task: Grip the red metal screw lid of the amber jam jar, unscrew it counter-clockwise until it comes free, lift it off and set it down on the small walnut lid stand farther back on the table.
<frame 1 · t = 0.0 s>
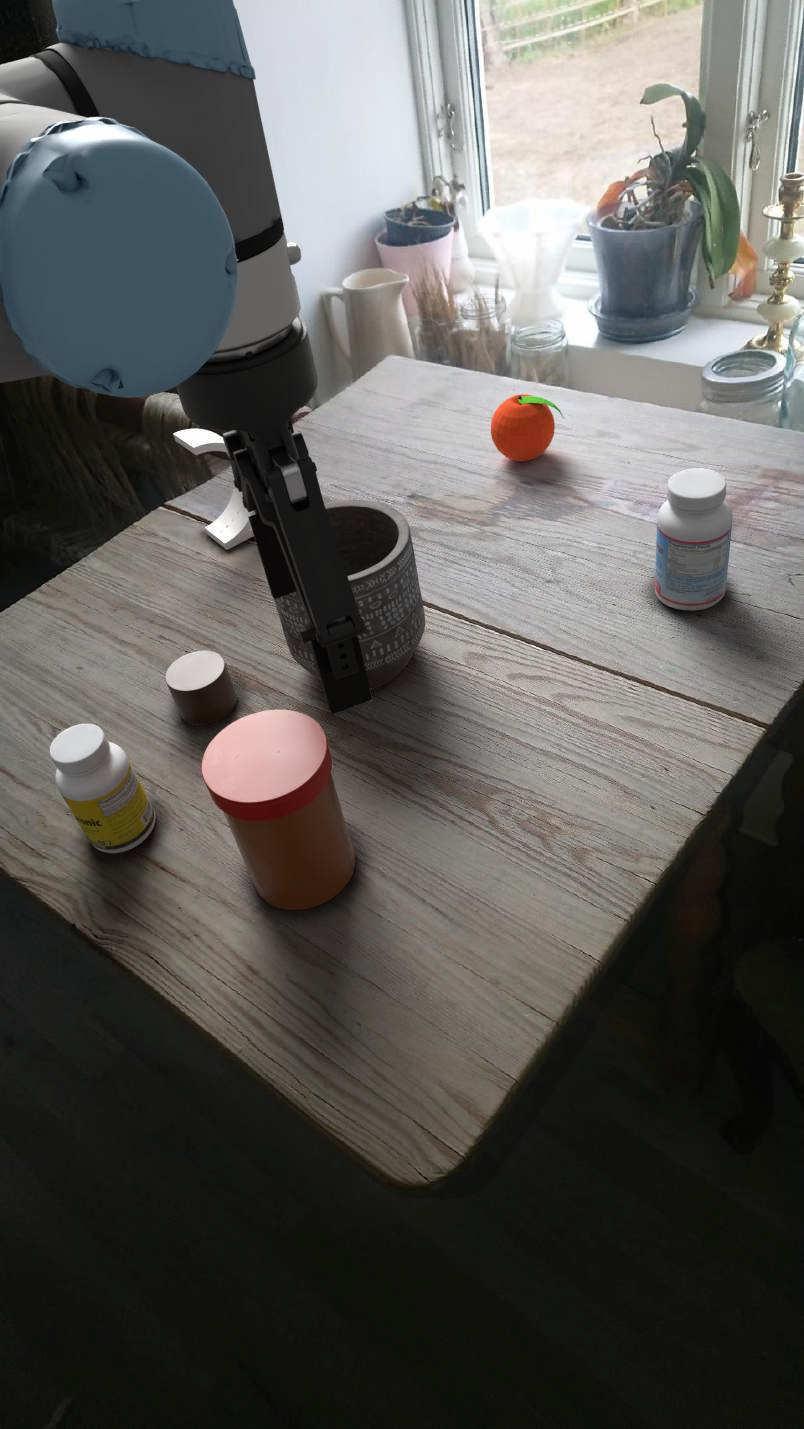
hand: (318, 643, 65), 15 cm above the table, tool pointing down, fingers open, 13 cm apart
jam jar: (304, 866, 71), on the table
jam lid: (265, 757, 63), point 12 cm above the table, screwed on, not yet turned
headphone stand: (240, 531, 106), on the table
planter: (363, 661, 87), on the table
supplement bottle: (124, 830, 77), on the table
clementine: (529, 458, 108), on the table
lid stand: (208, 704, 86), on the table
pill bottle: (689, 594, 87), on the table
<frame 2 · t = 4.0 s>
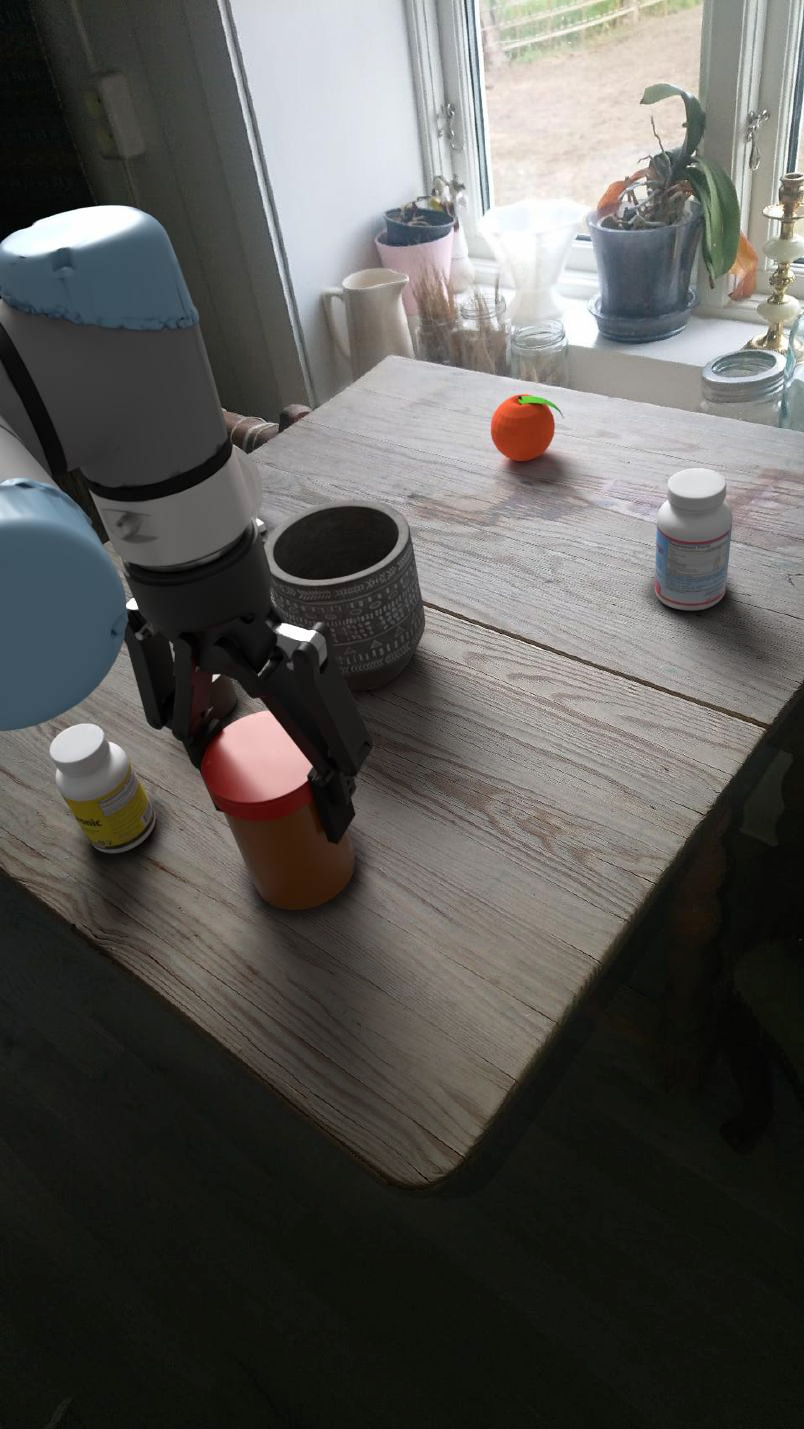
hand: (284, 812, 67), 6 cm above the table, tool pointing down, fingers closed on jam lid, 8 cm apart
jam lid: (265, 757, 63), point 12 cm above the table, screwed on, not yet turned, touching gripper
everything else where it was.
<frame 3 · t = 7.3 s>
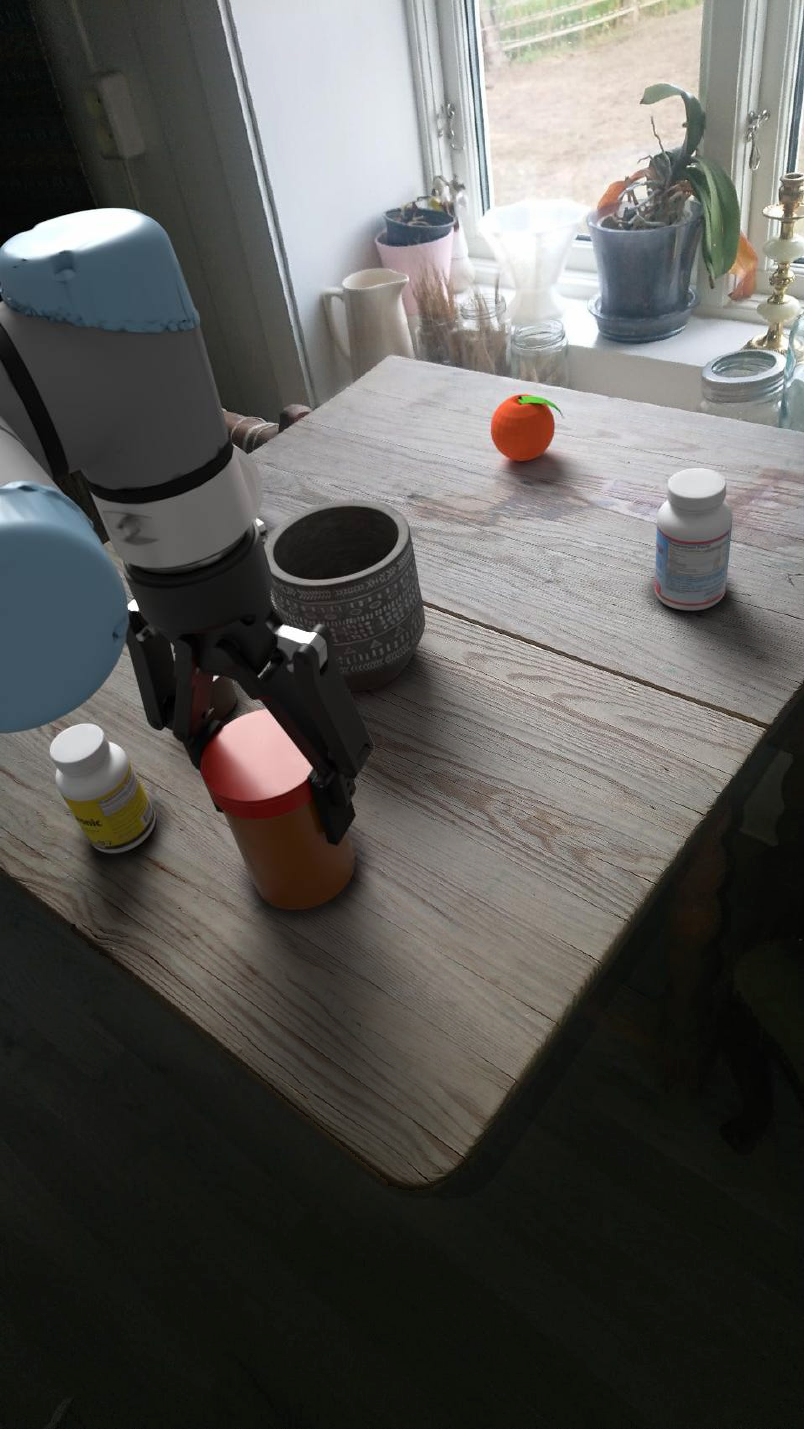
hand: (285, 813, 67), 6 cm above the table, tool pointing down, fingers closed on jam lid, 8 cm apart
jam lid: (264, 756, 63), point 12 cm above the table, turned 106° so far, risen 0.1 cm, still on its thread, touching gripper
everything else where it was.
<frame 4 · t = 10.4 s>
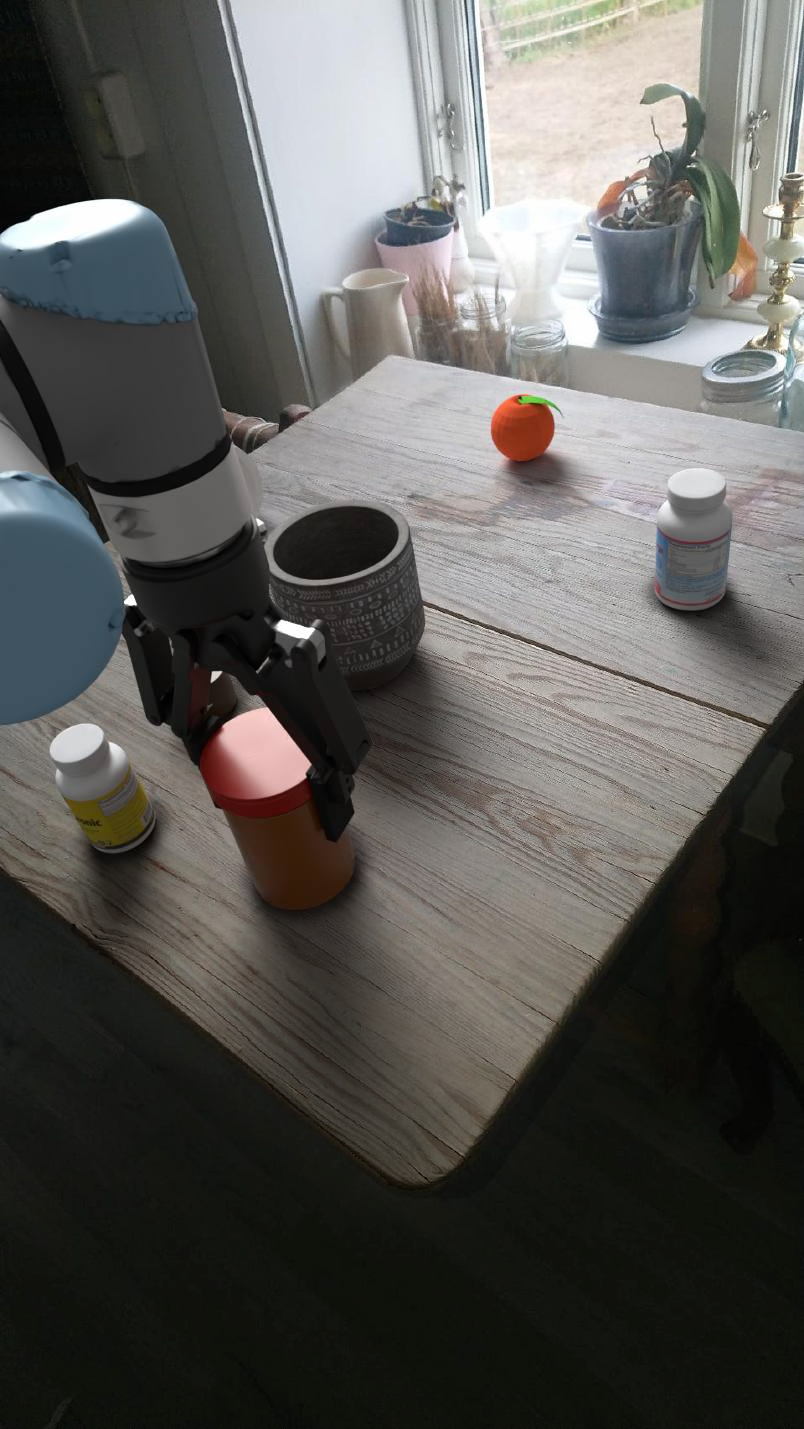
hand: (283, 809, 67), 6 cm above the table, tool pointing down, fingers closed on jam lid, 8 cm apart
jam lid: (264, 754, 63), point 12 cm above the table, turned 212° so far, risen 0.3 cm, still on its thread, touching gripper
everything else where it was.
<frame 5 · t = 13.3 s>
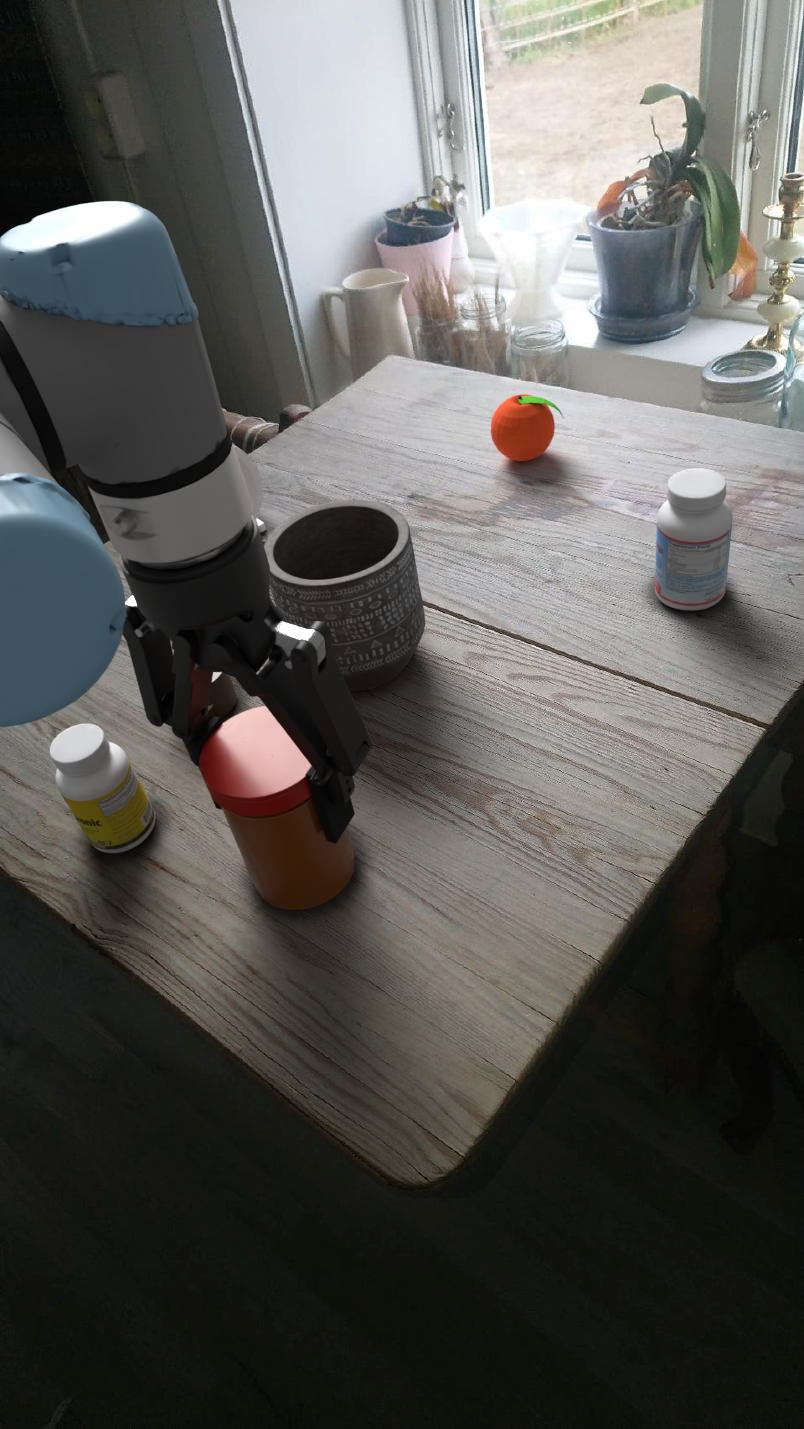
hand: (284, 810, 67), 6 cm above the table, tool pointing down, fingers closed on jam lid, 8 cm apart
jam lid: (263, 753, 63), point 12 cm above the table, turned 318° so far, risen 0.4 cm, still on its thread, touching gripper
everything else where it was.
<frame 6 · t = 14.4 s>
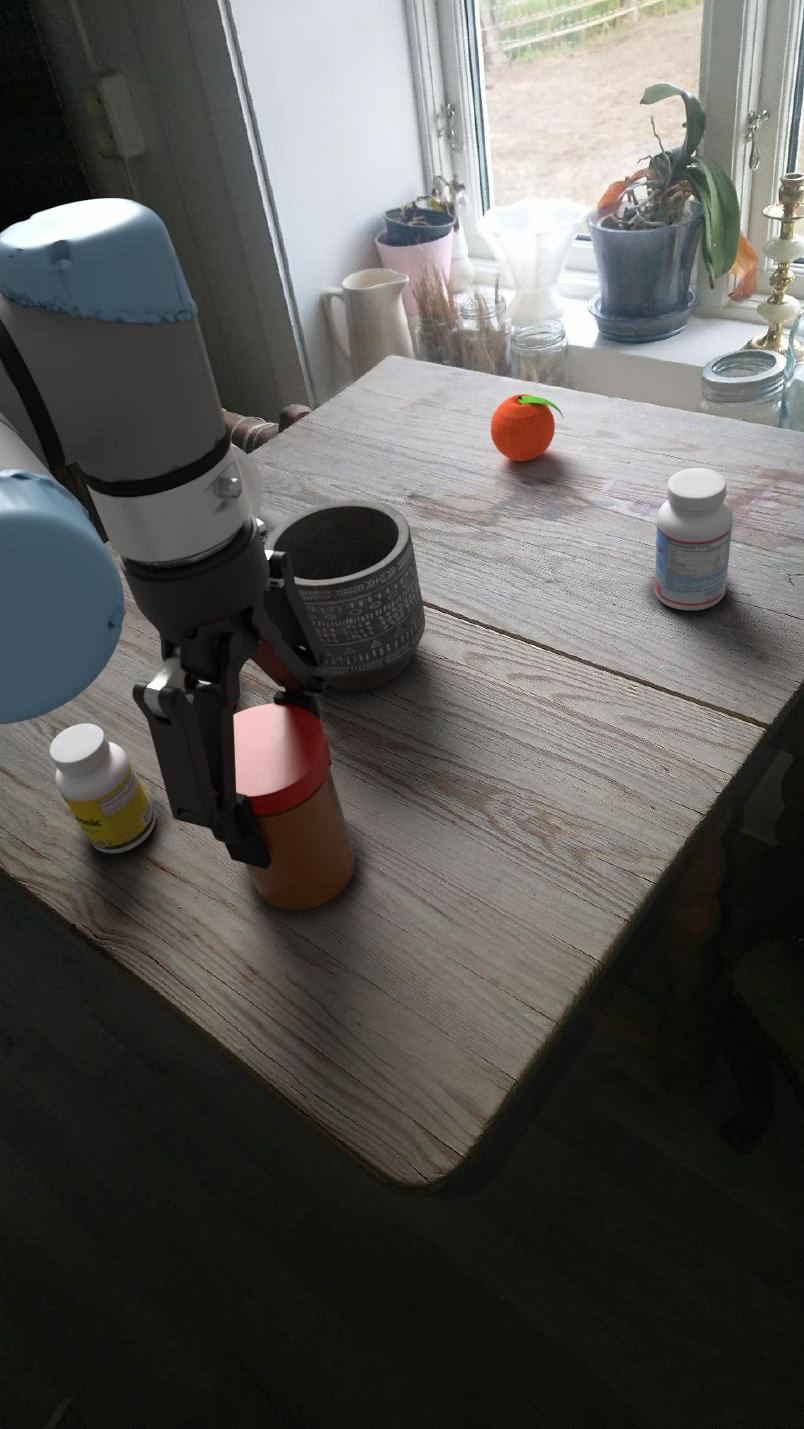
hand: (283, 809, 67), 6 cm above the table, tool pointing down, fingers closed on jam lid, 8 cm apart
jam lid: (263, 752, 63), point 12 cm above the table, off its thread, touching gripper
everything else where it was.
when the fingers open (2 cm above the table, at t = 21.5 s): jam lid drops 4 cm, resting on lid stand.
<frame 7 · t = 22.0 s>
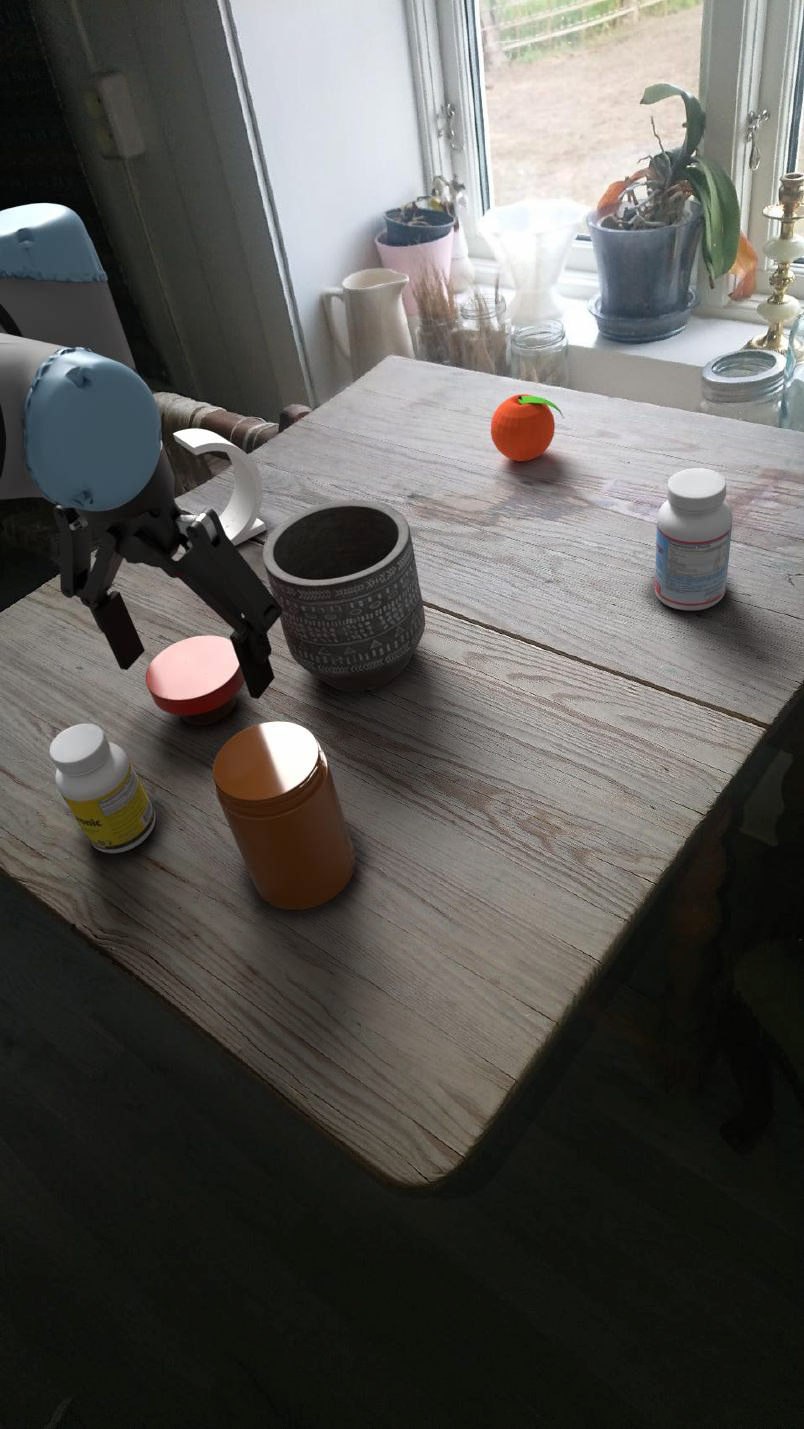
hand: (195, 673, 83), 4 cm above the table, tool pointing down, fingers open, 13 cm apart
jam lid: (194, 669, 83), point 4 cm above the table, off its thread, touching lid stand
everything else where it was.
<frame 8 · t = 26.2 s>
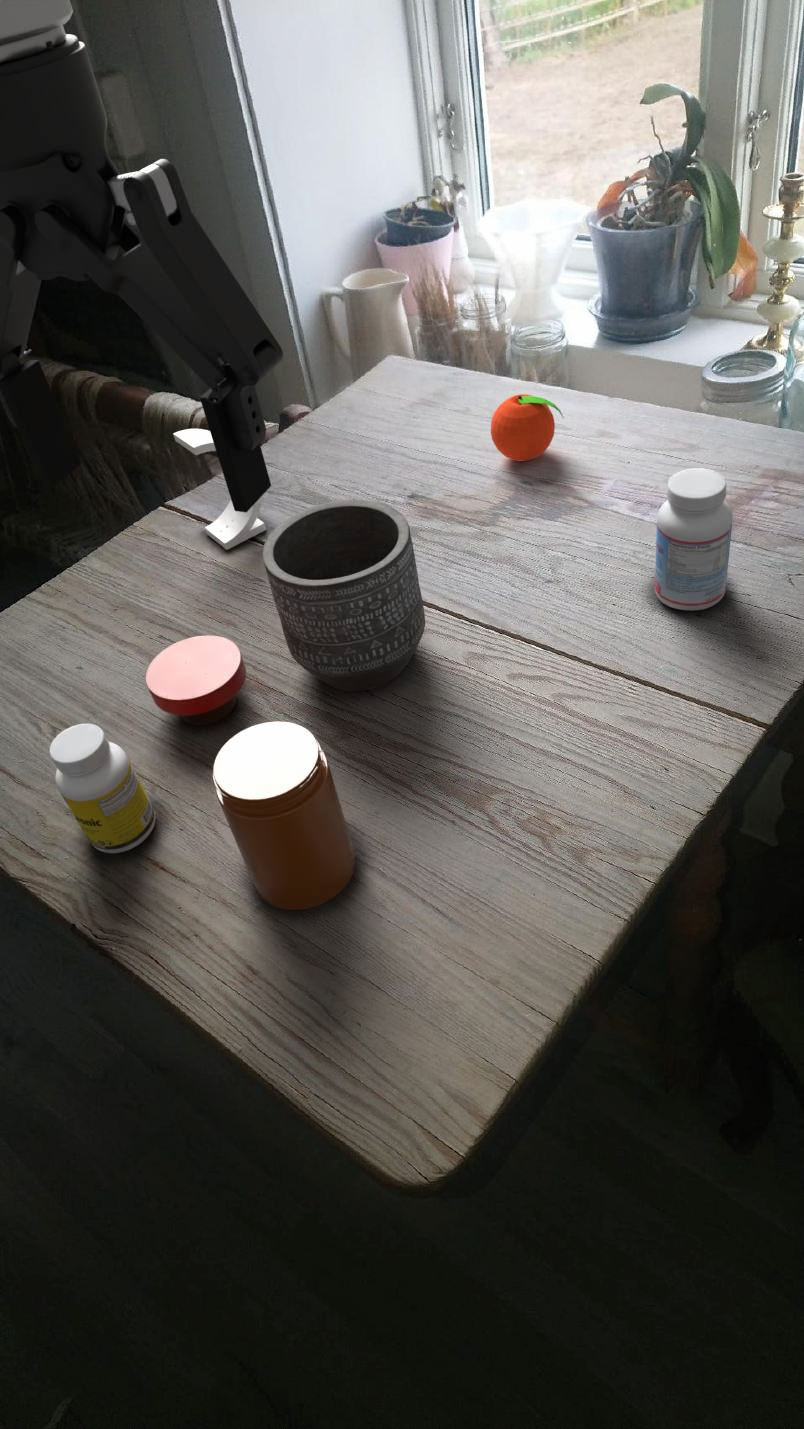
hand: (153, 486, 56), 29 cm above the table, tool pointing down, fingers open, 13 cm apart
nothing on the table moved.
at the end: jam lid came off its thread; jam lid 0.0 cm off-centre on the lid stand, point 4.0 cm above the lid stand's base; the gripper is holding nothing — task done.
